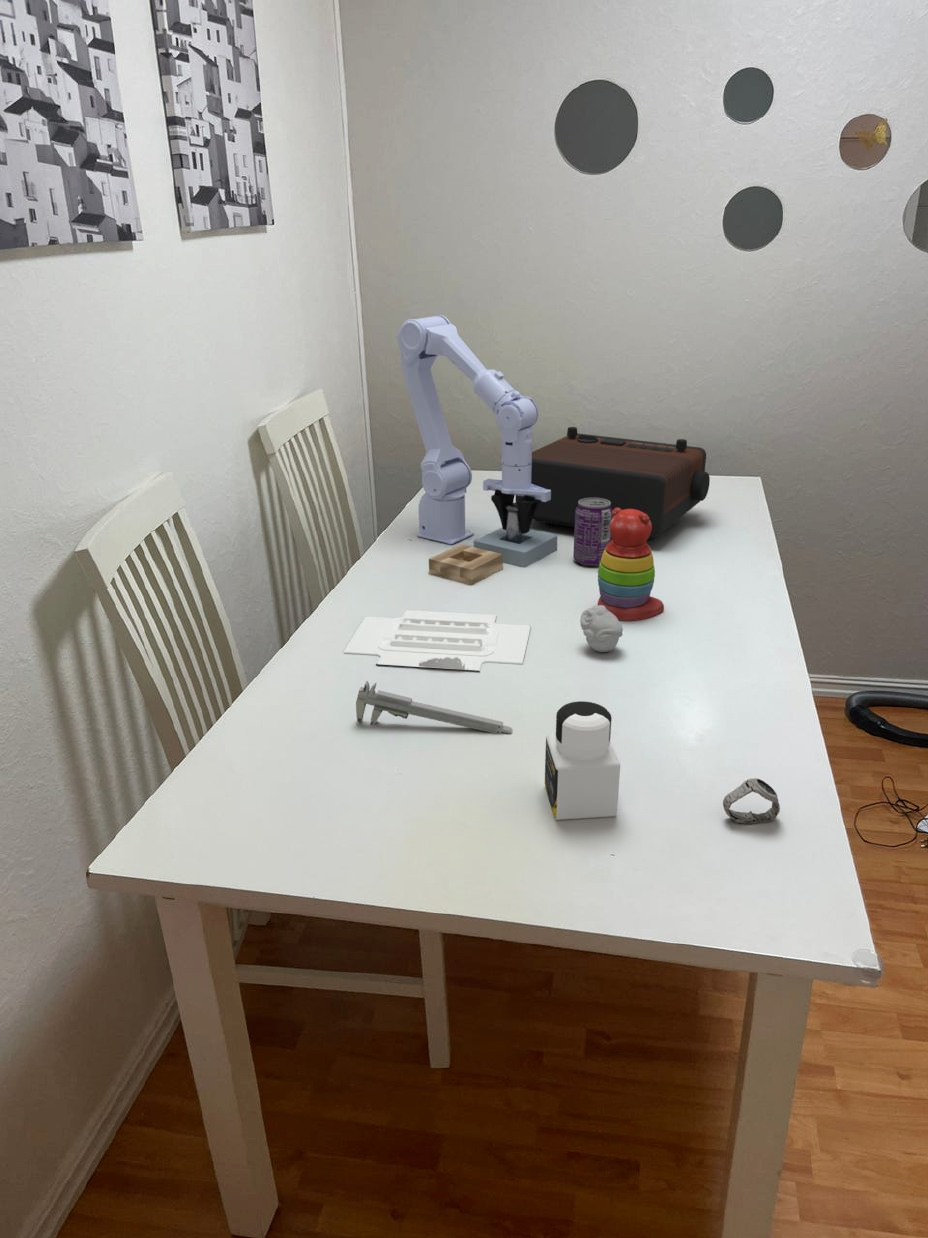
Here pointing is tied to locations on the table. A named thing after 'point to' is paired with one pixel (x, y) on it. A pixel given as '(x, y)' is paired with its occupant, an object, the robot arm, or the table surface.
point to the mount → (465, 564)
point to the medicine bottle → (582, 763)
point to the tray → (440, 640)
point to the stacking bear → (628, 568)
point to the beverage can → (591, 530)
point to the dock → (519, 546)
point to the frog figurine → (600, 628)
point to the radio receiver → (619, 477)
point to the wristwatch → (750, 817)
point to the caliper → (420, 711)
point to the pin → (513, 523)
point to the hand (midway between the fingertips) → (515, 530)
